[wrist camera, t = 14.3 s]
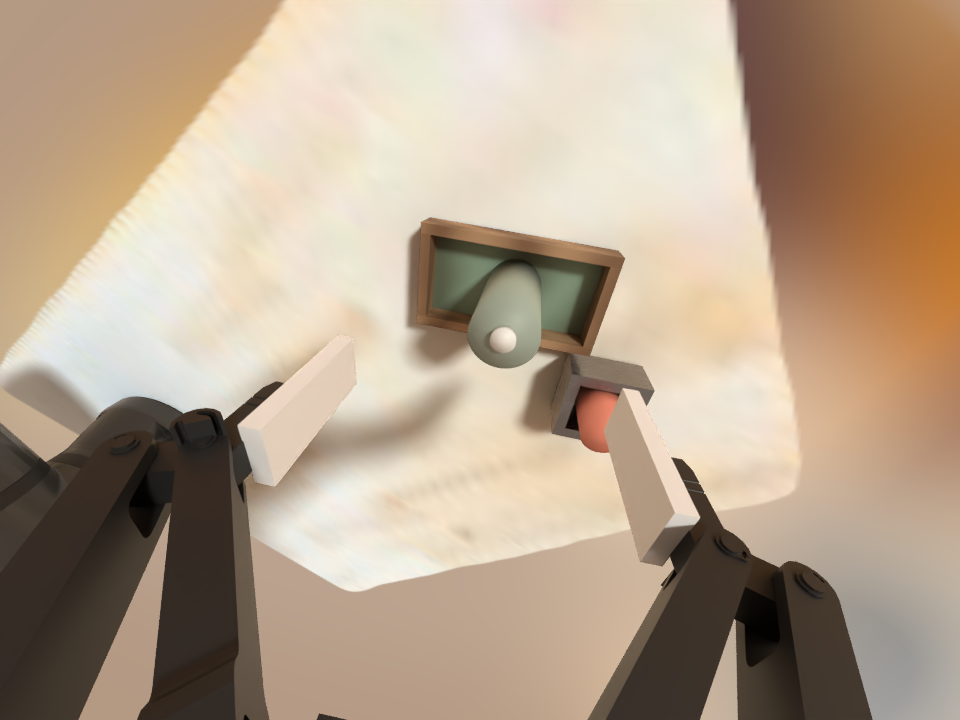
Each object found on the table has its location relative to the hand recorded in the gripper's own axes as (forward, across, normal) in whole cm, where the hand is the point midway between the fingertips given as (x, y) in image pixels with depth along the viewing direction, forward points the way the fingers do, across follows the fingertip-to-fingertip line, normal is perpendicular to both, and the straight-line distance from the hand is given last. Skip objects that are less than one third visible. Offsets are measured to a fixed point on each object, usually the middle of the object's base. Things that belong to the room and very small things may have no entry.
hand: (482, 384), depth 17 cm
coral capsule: (+15, +11, -9) cm, 20 cm away
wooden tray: (+16, +1, 0) cm, 16 cm away
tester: (+16, +11, -9) cm, 21 cm away
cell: (+15, +1, 0) cm, 15 cm away
